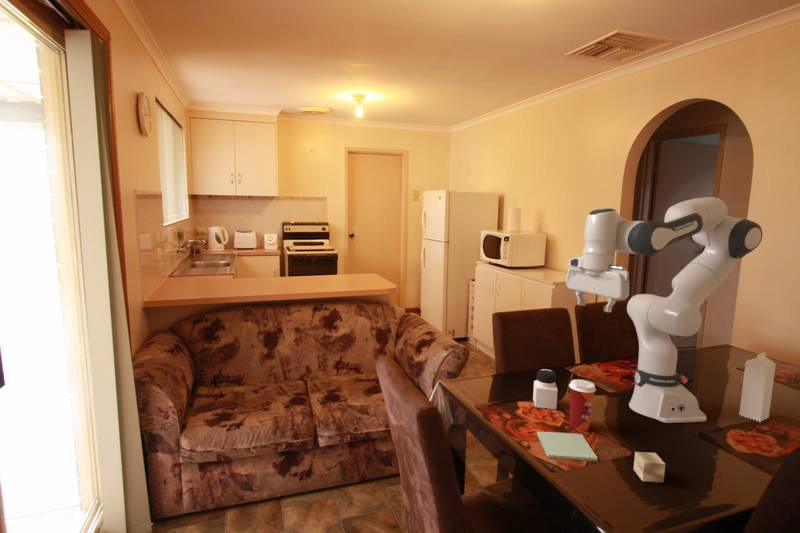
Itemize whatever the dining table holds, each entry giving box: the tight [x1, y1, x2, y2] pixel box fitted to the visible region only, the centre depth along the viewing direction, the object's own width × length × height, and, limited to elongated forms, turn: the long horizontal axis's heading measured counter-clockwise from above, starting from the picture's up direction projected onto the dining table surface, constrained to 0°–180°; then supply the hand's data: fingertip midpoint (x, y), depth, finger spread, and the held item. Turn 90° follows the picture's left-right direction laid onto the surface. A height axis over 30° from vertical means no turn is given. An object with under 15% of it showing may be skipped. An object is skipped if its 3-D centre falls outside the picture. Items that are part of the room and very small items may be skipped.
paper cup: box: [568, 378, 597, 432], centre depth 136 cm, size 8×8×14 cm
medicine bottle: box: [532, 368, 559, 410], centre depth 151 cm, size 7×7×12 cm
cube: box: [633, 451, 666, 483], centre depth 111 cm, size 5×5×5 cm
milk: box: [738, 351, 777, 423], centre depth 145 cm, size 6×6×22 cm
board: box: [536, 431, 599, 462], centre depth 124 cm, size 13×13×1 cm
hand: (594, 308), depth 133 cm, fingers open, 8 cm apart
